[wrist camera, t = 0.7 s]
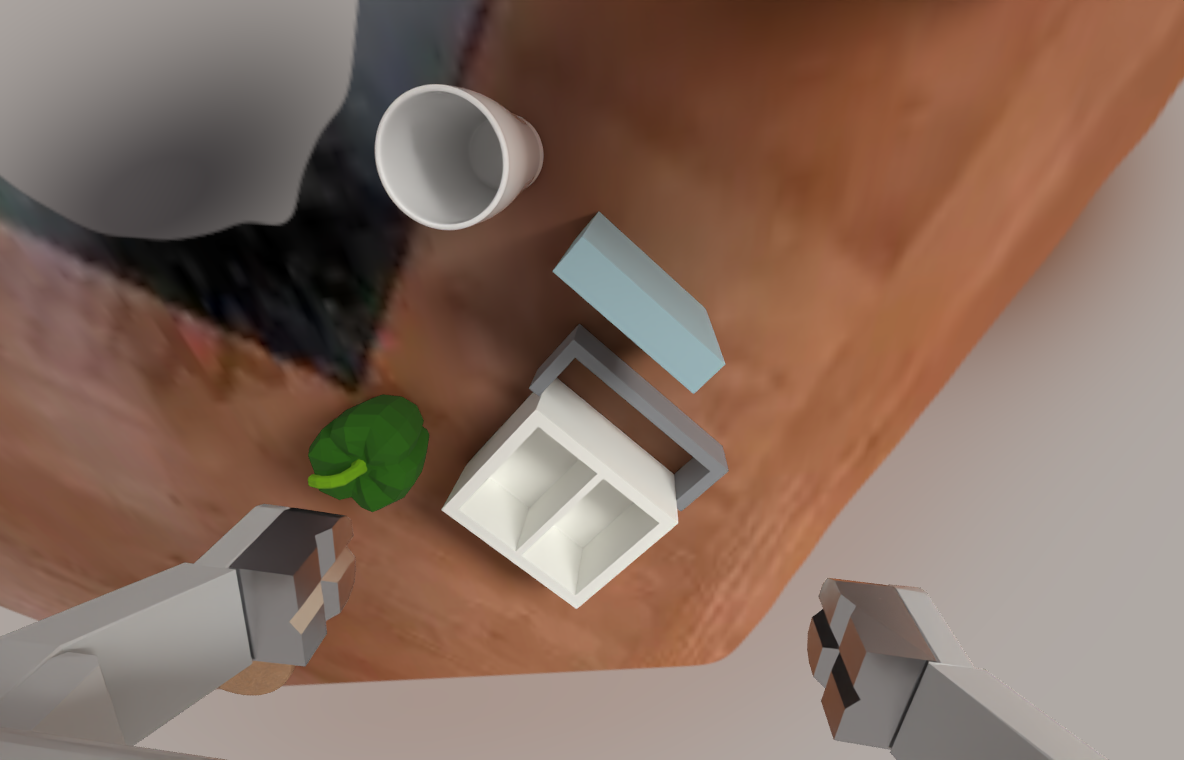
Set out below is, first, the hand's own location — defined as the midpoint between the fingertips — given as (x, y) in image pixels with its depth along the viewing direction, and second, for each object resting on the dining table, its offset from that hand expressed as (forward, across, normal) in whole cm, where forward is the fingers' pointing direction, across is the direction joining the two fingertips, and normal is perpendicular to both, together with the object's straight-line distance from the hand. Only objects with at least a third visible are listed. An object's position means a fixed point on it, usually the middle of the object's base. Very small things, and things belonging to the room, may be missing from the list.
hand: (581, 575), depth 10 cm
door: (+36, -1, +2) cm, 36 cm away
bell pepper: (+36, +18, +18) cm, 45 cm away
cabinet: (+36, +2, +18) cm, 41 cm away
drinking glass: (+36, +9, -5) cm, 38 cm away
